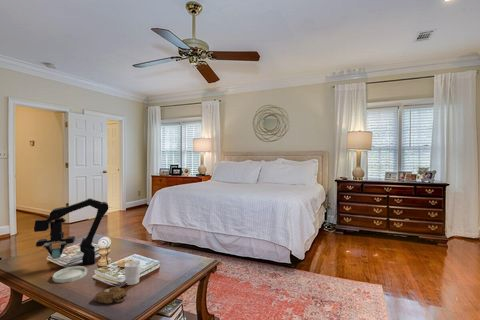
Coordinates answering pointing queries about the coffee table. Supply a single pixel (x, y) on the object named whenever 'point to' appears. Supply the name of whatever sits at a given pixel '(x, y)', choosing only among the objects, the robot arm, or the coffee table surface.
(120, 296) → the decorative rock
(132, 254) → the coffee table surface
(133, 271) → the white cup
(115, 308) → the coffee table surface
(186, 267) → the coffee table surface
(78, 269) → the ceramic dish
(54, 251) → the bead
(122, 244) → the coffee table surface
